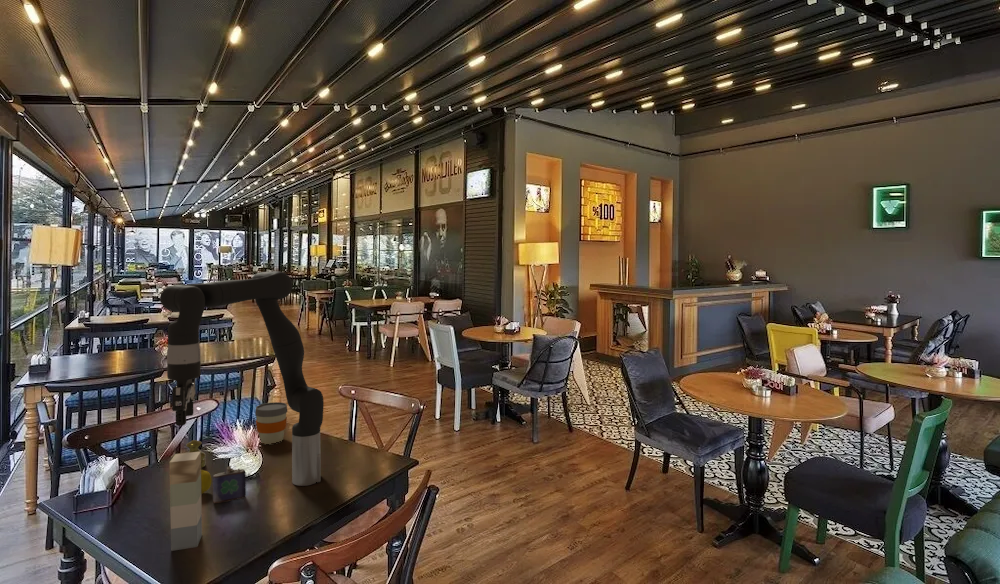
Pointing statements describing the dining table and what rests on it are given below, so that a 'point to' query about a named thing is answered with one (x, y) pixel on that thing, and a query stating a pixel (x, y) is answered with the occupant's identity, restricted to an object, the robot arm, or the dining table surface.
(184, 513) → the tower mid
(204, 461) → the olive tiered cone
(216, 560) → the dining table surface
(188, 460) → the maple cube
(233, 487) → the flask
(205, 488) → the lemon
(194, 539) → the tower base
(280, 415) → the reusable coffee cup
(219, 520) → the dining table surface
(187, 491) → the tower top
